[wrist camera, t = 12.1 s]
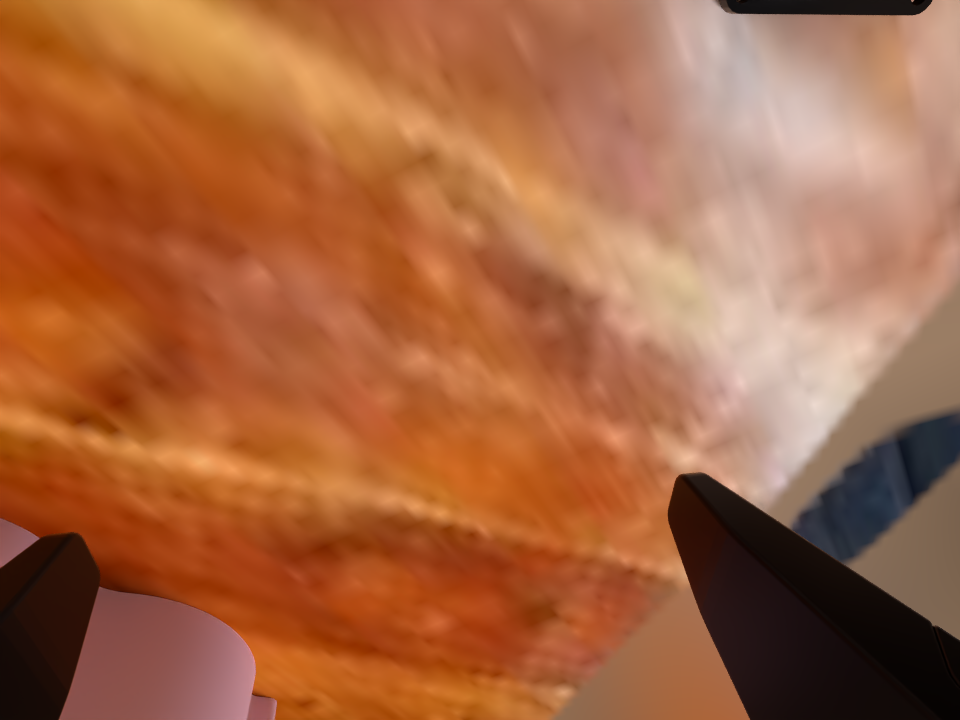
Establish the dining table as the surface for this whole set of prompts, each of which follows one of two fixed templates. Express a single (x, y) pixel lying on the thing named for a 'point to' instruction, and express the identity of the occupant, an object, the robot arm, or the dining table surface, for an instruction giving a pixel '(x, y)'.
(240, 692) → the clip
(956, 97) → the dining table surface
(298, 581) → the dining table surface
